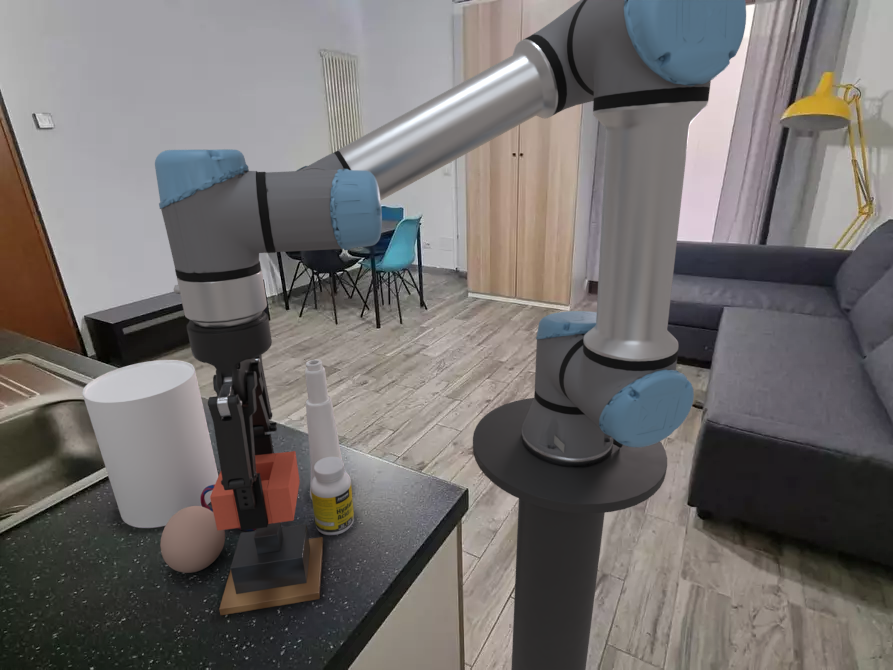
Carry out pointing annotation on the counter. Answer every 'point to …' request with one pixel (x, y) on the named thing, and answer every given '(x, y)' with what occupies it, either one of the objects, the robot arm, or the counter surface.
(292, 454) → the coral block
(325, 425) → the cosmetic bottle
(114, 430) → the canister
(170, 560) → the egg
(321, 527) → the supplement bottle
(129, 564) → the counter surface
